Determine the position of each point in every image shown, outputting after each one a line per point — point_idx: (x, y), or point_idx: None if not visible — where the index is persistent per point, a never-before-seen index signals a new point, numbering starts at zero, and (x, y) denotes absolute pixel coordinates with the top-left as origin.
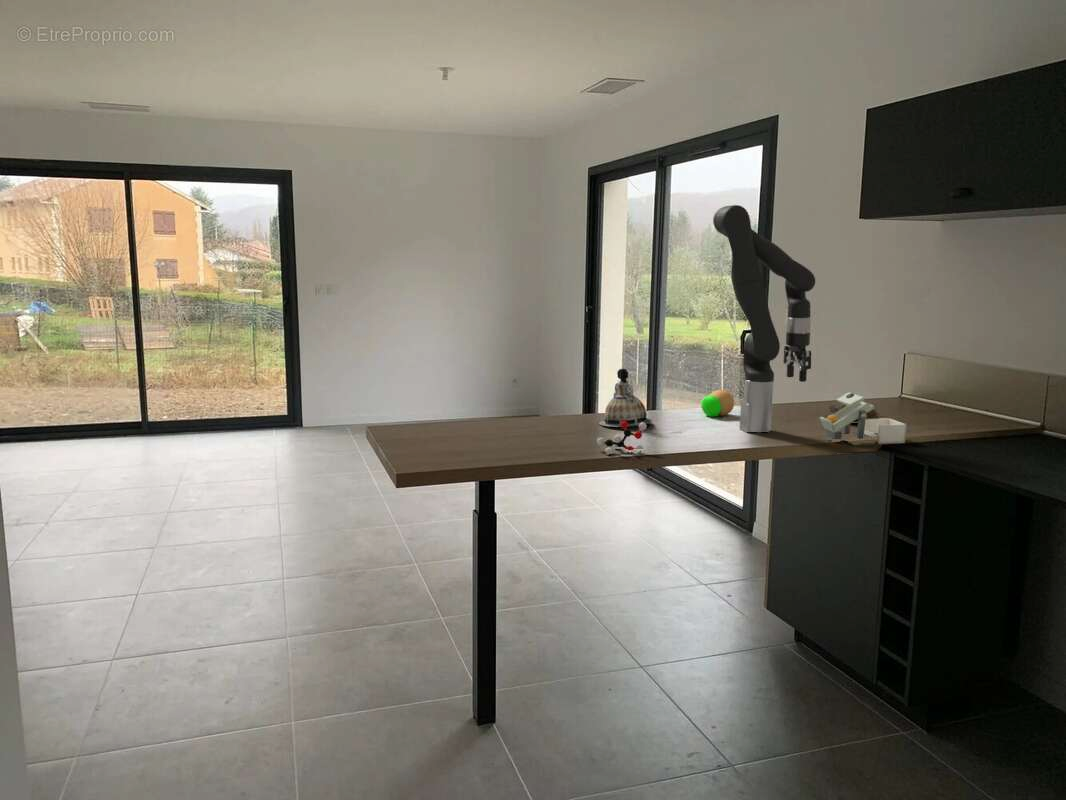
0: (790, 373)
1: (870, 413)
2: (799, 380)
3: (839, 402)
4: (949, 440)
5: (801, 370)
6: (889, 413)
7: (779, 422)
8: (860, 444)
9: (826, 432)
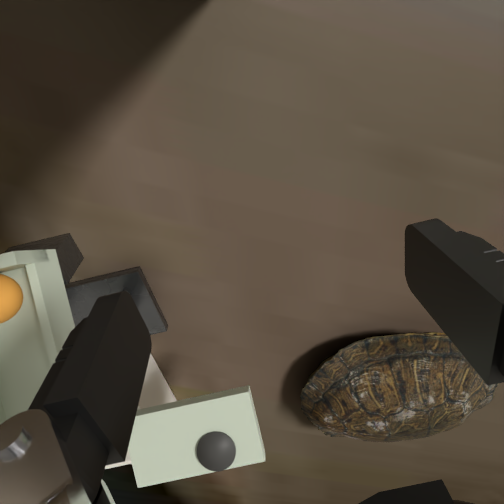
0: (430, 275)
1: (320, 423)
2: (110, 294)
3: (233, 389)
4: (160, 483)
5: (55, 419)
6: (448, 445)
7: (384, 110)
8: None
9: (56, 248)
